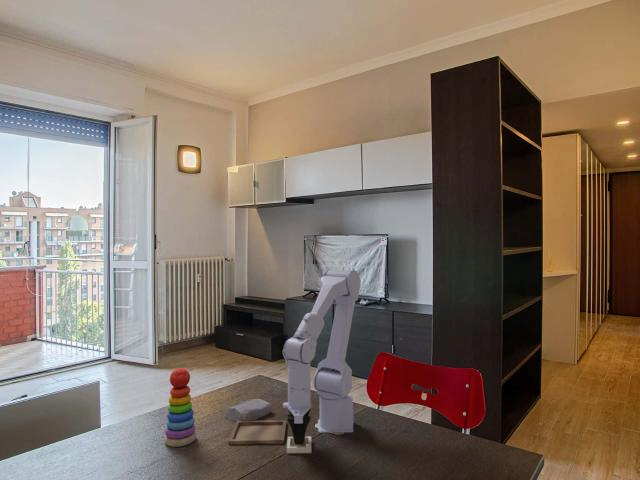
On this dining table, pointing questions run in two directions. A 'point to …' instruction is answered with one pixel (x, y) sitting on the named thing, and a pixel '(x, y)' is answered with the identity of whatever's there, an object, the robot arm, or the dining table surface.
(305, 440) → the dowel
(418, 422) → the dining table surface
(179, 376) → the stacking toy
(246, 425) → the tray
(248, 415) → the stone block
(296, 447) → the holder
